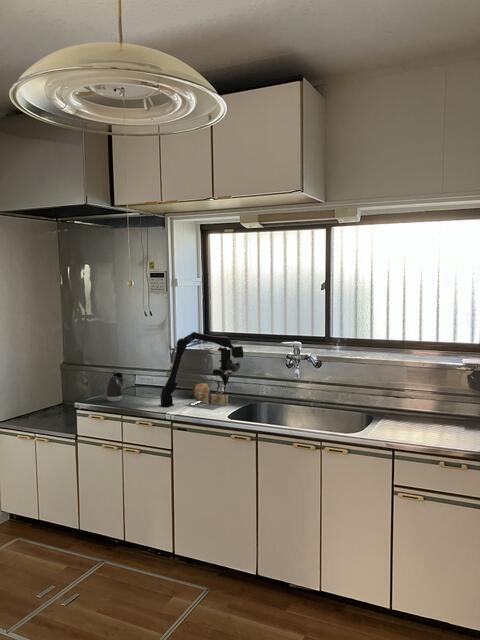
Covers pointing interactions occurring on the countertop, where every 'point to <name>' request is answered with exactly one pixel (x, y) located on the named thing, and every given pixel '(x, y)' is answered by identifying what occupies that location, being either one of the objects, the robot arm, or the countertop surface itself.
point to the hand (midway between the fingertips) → (225, 384)
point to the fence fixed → (204, 397)
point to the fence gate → (219, 399)
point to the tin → (200, 389)
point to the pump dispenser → (114, 389)
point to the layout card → (208, 405)
